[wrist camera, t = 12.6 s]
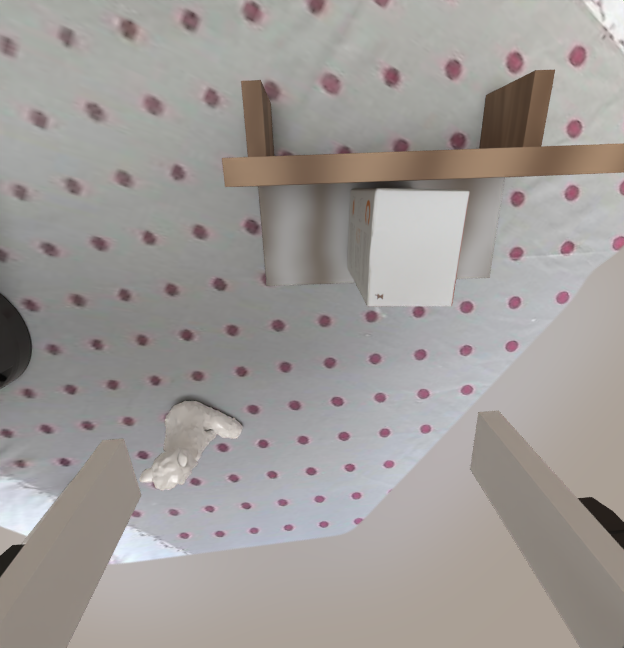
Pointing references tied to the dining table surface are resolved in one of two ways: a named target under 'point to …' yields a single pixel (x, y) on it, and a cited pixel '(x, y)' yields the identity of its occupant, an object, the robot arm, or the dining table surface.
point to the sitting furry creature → (187, 442)
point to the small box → (406, 244)
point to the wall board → (399, 181)
